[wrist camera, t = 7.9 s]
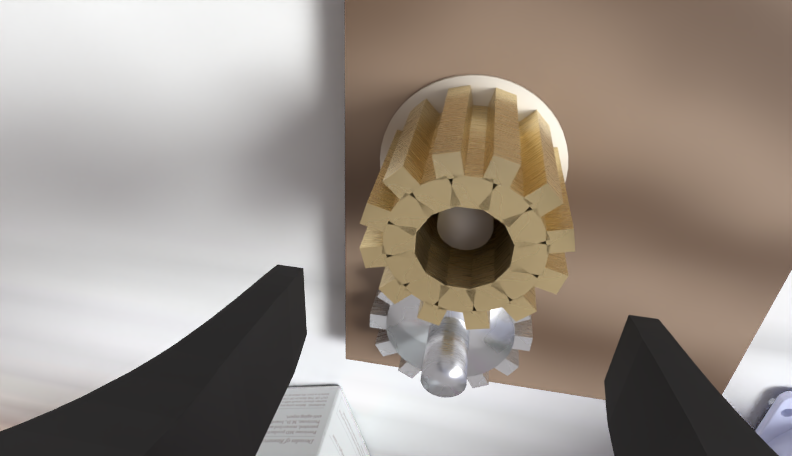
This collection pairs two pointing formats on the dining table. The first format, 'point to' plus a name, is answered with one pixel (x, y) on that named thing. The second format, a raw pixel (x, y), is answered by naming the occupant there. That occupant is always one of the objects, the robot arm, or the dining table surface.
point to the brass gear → (478, 189)
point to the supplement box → (313, 425)
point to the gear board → (601, 162)
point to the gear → (448, 344)
